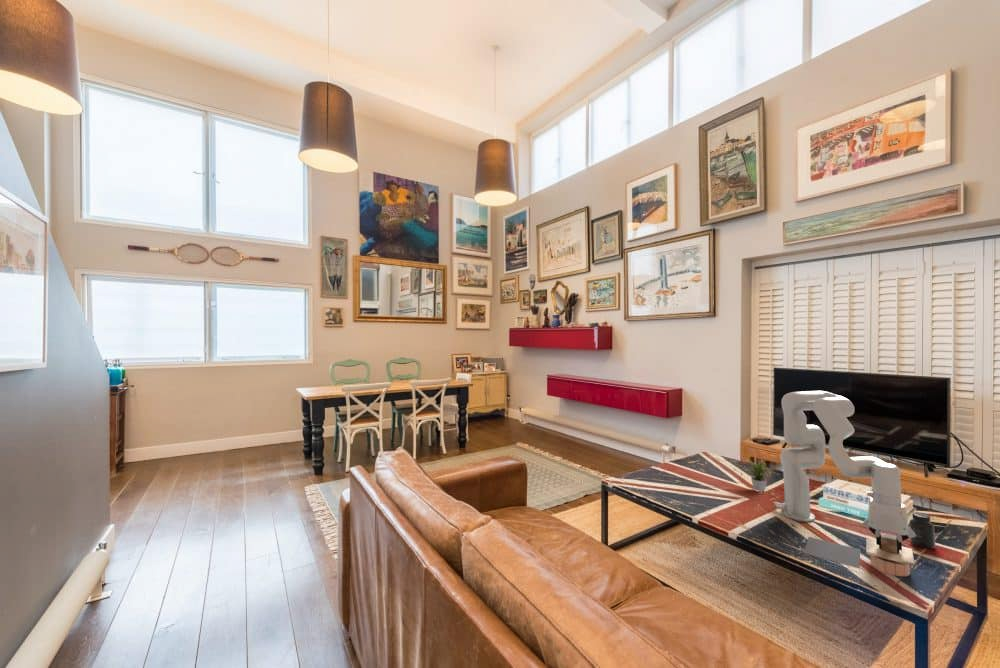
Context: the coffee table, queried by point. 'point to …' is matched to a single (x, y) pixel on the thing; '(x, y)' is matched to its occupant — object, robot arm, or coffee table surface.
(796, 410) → the robot arm
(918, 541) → the supplement bottle
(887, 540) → the lid
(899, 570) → the bowl
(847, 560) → the mat
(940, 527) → the coffee table surface
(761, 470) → the house plant
